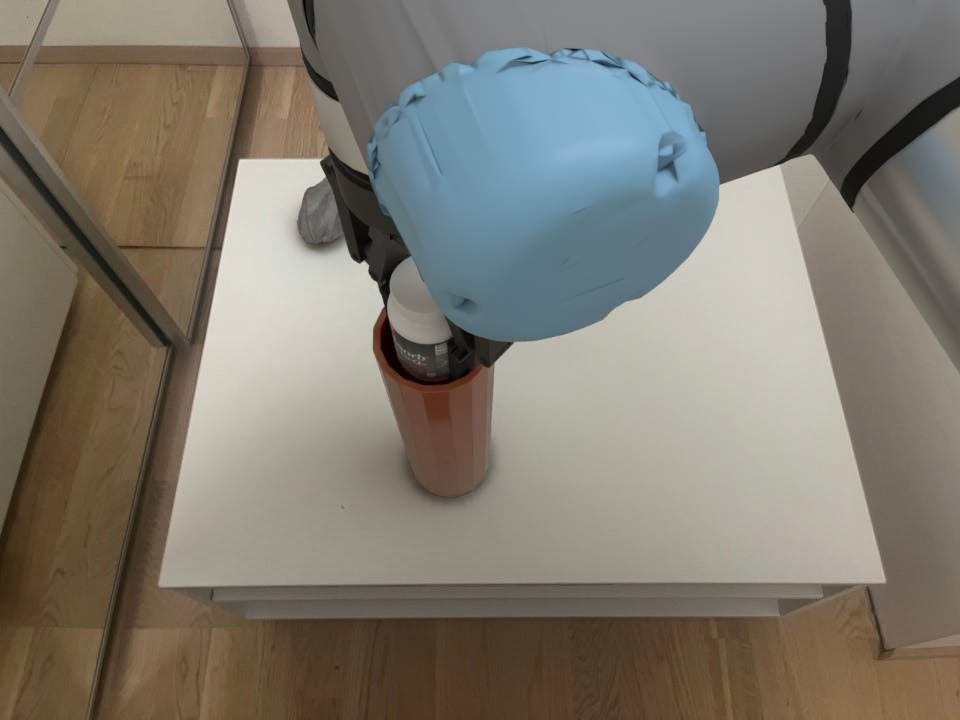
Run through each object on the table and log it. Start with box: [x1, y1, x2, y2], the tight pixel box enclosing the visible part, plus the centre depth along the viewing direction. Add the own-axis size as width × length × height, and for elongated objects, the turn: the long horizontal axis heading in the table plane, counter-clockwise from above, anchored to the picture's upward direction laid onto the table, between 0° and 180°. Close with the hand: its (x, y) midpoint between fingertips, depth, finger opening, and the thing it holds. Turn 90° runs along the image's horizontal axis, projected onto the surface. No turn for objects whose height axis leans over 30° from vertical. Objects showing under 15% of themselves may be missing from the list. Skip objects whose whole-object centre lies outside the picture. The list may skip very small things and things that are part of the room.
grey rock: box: [296, 176, 344, 245], centre depth 90 cm, size 11×9×8 cm
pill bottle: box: [387, 257, 453, 381], centre depth 47 cm, size 6×6×10 cm
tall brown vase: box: [372, 306, 496, 498], centre depth 65 cm, size 9×9×32 cm
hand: (435, 347), depth 52 cm, fingers closed on pill bottle, 6 cm apart
